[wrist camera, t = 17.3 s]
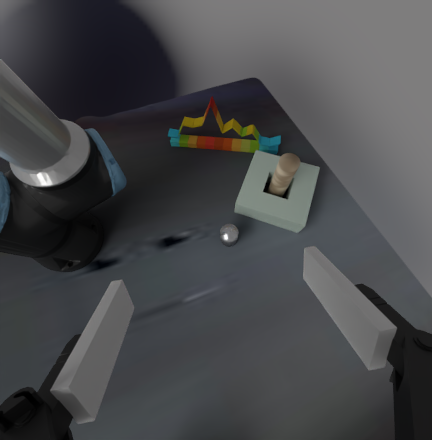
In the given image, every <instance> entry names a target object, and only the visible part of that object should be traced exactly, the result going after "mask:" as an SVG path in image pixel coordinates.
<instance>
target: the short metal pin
mask: <svg viewBox="0 0 432 440" xmlns="http://www.w3.org/2000/svg"><path fill="white" fill-rule="evenodd" d="M220 237H221V242H222V244H223V245H225V246H227V247H231V246H233V245H235V244H236V242H237V238H238V229H237V227H236V226H235V225H233V224H226V225H224V226H223V227H222V228H221V230H220Z"/></svg>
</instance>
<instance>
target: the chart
mask: <svg viewBox="0 0 432 440" xmlns="http://www.w3.org/2000/svg"><path fill="white" fill-rule="evenodd" d="M210 106H211V108H212V110H213V112H214V115H215V117H216V120H217V122H218V124H219V127H220V129H221V132H223V133H224V132H226V131H228V130H230V129H231V128H232V126H233V129H234V130H235V131H236V132H237V133H238V134H239V135H240V136H241V137H243V136H246V132H247V135H249V134H253V135H254V137H255V138H256V140H245V139H232V138H219V137H205V136H192V135H181V134H180V132H181V129H182V127H183V126H187V127H192V128H194V127H199V126H202V125H203V123H204V120H205V118H206V115H207V113H208V110H209V108H210ZM240 129H241V130H240ZM242 130H243V132H242ZM252 131H253V133H252ZM254 132H255V133H254ZM168 137H171V140H170V143H171V146H179V147H191V148H203V149H215V150H228V151H240V150H241V151H240V152H252V153H255V151H256V150H258V151H262V152H265V153H269V154H276V155H277V152H278V145H279V144H280V141H281V135H280V136H276V137H273V138H267V137H262V136H260V134H259V132H258V131H257V129H256V128H255V126H254V125H250V126H247V127H244V128H242V127H241V126H240V125H239V124H238V123H237V122H236V121H235V120H233V119H232V120H231V121H229V122H227V123H226V124H224V125H223V122H222V120H221V117H220V114H219V112H218V109H217V107H216V104H215V102H214V99H213V97H211V100H210V102H209V105H208V107H207V110H206V112H205V115H204V117H200V118H196V119H193V118H188V117H184V120H183V122H182V125H181V127H180V129H179V130H175V129H170V130H169V133H168ZM241 141H242V142H241Z"/></svg>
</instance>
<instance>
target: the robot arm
mask: <svg viewBox="0 0 432 440" xmlns="http://www.w3.org/2000/svg"><path fill="white" fill-rule="evenodd" d="M0 157H2V158H4V159H5V160H7V161H9V162H10V167H11V169H12V170H11V171H9V172H7V173H5V174H3V173H2V172H0V252H4V253H9V254H14V255H20V256H25V257H31V258H33V259H34V260H36V261H37V262H38V263H40V264H41V265H43V266H44V267H46V268H48V269H50V270H53V271H59V272H71V271H75V270H78V269H80V268H82V267H84V266H86V265H87V264H88V263H89V262H91V261H92V260H93V259H94V257H95V256H96V255H97V253H98V252H99V250H100V248H101V246H102V243H103V236H104V234H103V228H102V225H101V223H100V222H99V220H98V219H97V218H95V217H94V216H92V215H91V214H89V213H87V212H86V211H88V210H90V209H91V208H93V207H95V206H96V205H98V204H100V203H102V202H103V201H105V200H107V199H108V198H110V197H113V196H114V195H115V194H116V193H117V192H119V191H120V190H122V189H123V188H124V187H125V186H126V183H127V181H126V178H125V176H124V174H123V172H122V170H121V168H120V167H119V165H118V163H117V162H116V160H115V159H114V157H113V155H112V154H111V152H110V150H109V149H108V147H107V146H106V144H105V142H104V141H103V139H102V138H101V136H100V135H99V134H98V132H97V131H96V130H95V129H85V130H83V129H82V128H81V127H79V126H78V125H77V124H75V123H73V122H70V121H67V120H61V119H58V117H57V116H56V115H55V114H54V113H53V112H52V111H51V110H50V109H49V108H48V107H47V106H46V105H45V104H44V103H43V102H42V101H41V100H40V99H39V98H38V97H37V96H36V95H35V94H34V93H33V92H32V91H31V90H30V89H29V88H28V87H27V85H26V84H25V83H24V82H23V81H22V80H21V79H20V78H19V77H18V76H17V75H16V74H15V73H14V72H13V71H12V70H11V69H10V68H9V67H8V66H7V65H6V64H5V63H4V62H3V61H2V60H1V59H0ZM303 278H304V280H305V281H306V283H307V284H308V285H309V287H310V288H311V290H312V291H313V292H314V294H315V295H316V297H317V298H318V299H319V301H320V302H321V304H322V305H323V307H324V308H325V309H326V311H327V312H328V314H329V315H330V316H331V318H332V319H333V321H334V322H335V323H336V325H337V326H338V328H339V329H340V330H341V332H342V333H343V335H344V336H345V337H346V339H347V340H348V342H349V343H350V344H351V346H352V347H353V349H354V350H355V351H356V353H357V354H358V356H359V357H360V358H361V360H362V361H363V363H364V364H365V366H366V367H367V368H368V370H374V369H379V368H384V367H385V365H386V361H387V360H388V361H389V362H390V364H391V365H392V366H393V367H394V368H393V371H392V374H391V377H390V382H393V394H394V422H395V440H432V334H430V333H427V332H425V331H421V330H417V329H415V328H414V327H413V326H412V325H411V324H410V323H409V322H407V321H406V320H405V319H404V318H403V317H402V316H401V315H400V314H399V313H398V312H397V311H395V310H394V309H393V308H392V307H391V306H390V305H389V304H387V302H386V301H385V300H383V299H382V298H381V297H380V296H379V295H378V294H377V293H376V292H375V291H374V290H372V289H371V288H369V287H367V286H365V285H363V284H357V285H353V284H352V283H351V282H350V281H349V280H348V279H347V278H346V277H345V276H344V275H343V274H342V273H341V272H340V271H339V270H338V269H337V268H336V267H335V266H334V265H333V264H332V263H331V262H330V261H329V260H328V259H327V258H326V257H325V256H324V255H323V254H322V253H321V252H320V251H319V250H318V249H317V248H316V247H315V246H312V247H307V248H304V271H303ZM133 311H134V306H133V303H132V301H131V299H130V296H129V294H128V292H127V289H126V287H125V285H124V282H123V280H117V281H112V282H111V283H110V285H109V287H108V289H107V290H106V292H105V294H104V296H103V298H102V299H101V301H100V303H99V305H98V306H97V308H96V310H95V312H94V313H93V315H92V317H91V319H90V321H89V322H88V324H87V326H86V328H85V329H84V331H83V333H82V334H79V335H75V336H74V337H73V338H72V339H71V340H70V341H69V342H68V343H67V345H66V346H65V348H64V349H63V351H62V353H61V356H59V358H58V359H57V361H56V364H55V365H54V366H53V368H52V369H51V371H50V372H49V374H48V376H47V377H46V379H45V381H44V382H43V384H42V386H41V387H40V389H39V391H38V392H36V391H35V390H34V389H33V388H31V387H26V388H23V389H20V390H19V391H17V392H15V393H13V394H12V395H11V396H10V397H9V398H7V399H6V400H5V401H4V402H3V403H2V404H1V406H0V440H73V437H72V432H71V430H70V428H69V425H70V423H71V421H72V418H74V419H75V421H76V422H77V423H78V424H80V423H86V422H91V421H95V418H96V416H97V413H98V410H99V407H100V404H101V401H102V399H103V396H104V393H105V390H106V387H107V384H108V382H109V379H110V376H111V373H112V370H113V367H114V365H115V362H116V359H117V356H118V353H119V350H120V347H121V345H122V342H123V339H124V336H125V333H126V330H127V328H128V325H129V322H130V319H131V316H132V313H133Z"/></svg>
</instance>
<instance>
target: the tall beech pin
mask: <svg viewBox="0 0 432 440" xmlns="http://www.w3.org/2000/svg"><path fill="white" fill-rule="evenodd" d="M299 166H300V159H299V158H298V156H296V155H295V154H292V153H286V154H283V155H282V156H281V157H280V159H279V162H278V164H277V167H276V170H275V172H274V175H273V178H272V180H271V183H270V185H269V188H268V191H267V193H268V194H271V195H275V196H278V197H281V198H282V196H283V195H284V193H285V191H286V189H287V187H288V186H289V184H290V182H291V180H292V178H293V177H294V175H295V173H296V171H297V169H298V168H299Z"/></svg>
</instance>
